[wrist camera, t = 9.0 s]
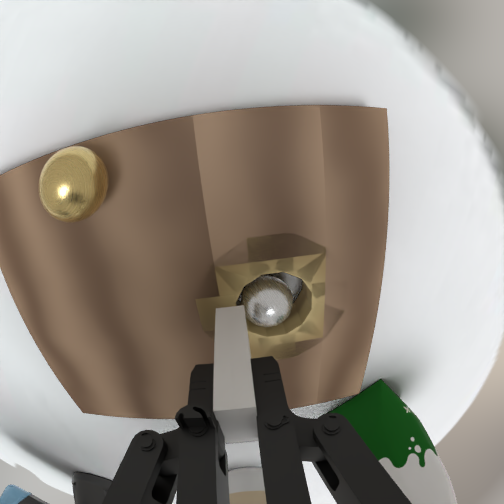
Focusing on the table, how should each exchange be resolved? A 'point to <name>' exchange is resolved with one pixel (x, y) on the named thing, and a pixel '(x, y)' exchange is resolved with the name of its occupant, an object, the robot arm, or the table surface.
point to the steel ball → (267, 301)
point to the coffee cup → (246, 486)
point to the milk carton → (399, 444)
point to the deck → (206, 253)
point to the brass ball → (73, 184)
